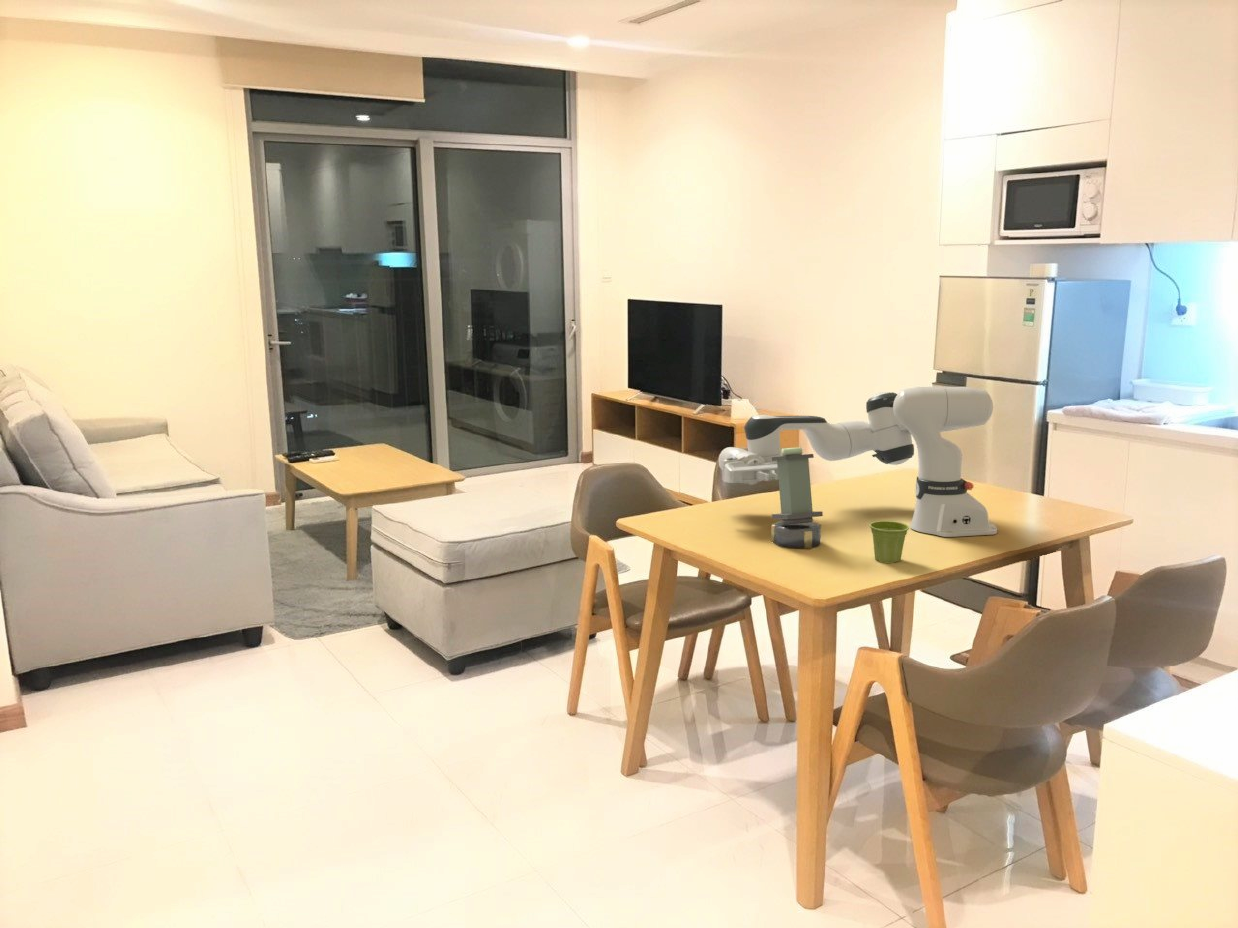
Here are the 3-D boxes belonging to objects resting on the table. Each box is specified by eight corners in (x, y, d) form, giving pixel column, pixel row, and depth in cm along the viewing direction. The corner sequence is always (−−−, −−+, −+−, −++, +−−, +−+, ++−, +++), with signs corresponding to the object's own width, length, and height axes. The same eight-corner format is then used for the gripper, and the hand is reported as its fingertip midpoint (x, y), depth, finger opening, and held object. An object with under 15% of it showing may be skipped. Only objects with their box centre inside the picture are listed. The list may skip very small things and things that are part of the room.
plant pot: (907, 555, 246) (909, 521, 245) (908, 566, 237) (909, 531, 236) (868, 553, 249) (870, 519, 247) (867, 564, 240) (868, 529, 238)
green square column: (806, 521, 264) (800, 447, 264) (823, 522, 256) (817, 445, 256) (772, 524, 261) (766, 450, 261) (788, 525, 253) (782, 448, 253)
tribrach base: (806, 535, 267) (806, 517, 266) (830, 547, 255) (830, 528, 254) (766, 539, 263) (766, 521, 262) (788, 551, 251) (788, 533, 251)
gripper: (782, 476, 287) (806, 485, 274) (717, 482, 281) (738, 491, 268) (783, 455, 285) (806, 463, 272) (717, 460, 279) (738, 469, 266)
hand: (772, 477), depth 270 cm, fingers closed
